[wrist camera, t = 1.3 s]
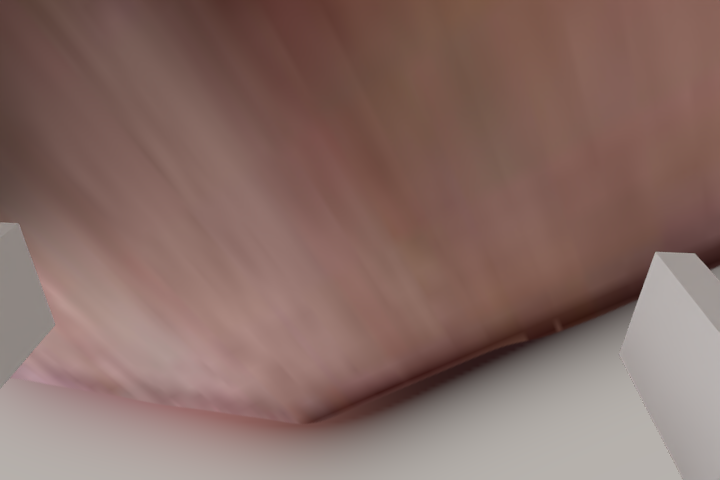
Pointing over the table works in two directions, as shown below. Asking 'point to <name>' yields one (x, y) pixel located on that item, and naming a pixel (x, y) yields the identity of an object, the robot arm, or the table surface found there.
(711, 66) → the table surface
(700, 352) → the robot arm
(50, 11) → the table surface
